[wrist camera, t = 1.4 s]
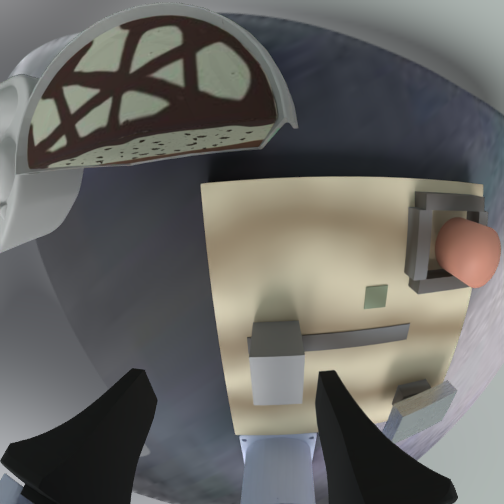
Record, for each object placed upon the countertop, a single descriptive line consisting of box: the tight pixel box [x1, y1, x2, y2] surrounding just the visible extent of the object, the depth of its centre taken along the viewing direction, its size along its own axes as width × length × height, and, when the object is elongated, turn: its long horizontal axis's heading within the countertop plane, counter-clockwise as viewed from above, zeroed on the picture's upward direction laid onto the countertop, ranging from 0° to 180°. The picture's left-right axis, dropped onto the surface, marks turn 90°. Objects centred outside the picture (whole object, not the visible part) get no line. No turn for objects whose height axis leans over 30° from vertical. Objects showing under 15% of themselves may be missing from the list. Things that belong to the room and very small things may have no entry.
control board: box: [201, 176, 488, 435], centre depth 18 cm, size 22×20×4 cm
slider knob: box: [249, 320, 305, 405], centre depth 16 cm, size 4×3×4 cm
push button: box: [435, 217, 501, 288], centre depth 13 cm, size 4×4×3 cm
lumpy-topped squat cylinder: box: [0, 74, 84, 253], centre depth 14 cm, size 10×13×9 cm
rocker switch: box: [382, 380, 457, 443], centre depth 17 cm, size 4×6×2 cm, turn 94°
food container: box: [15, 3, 298, 175], centre depth 12 cm, size 12×6×10 cm, turn 94°
